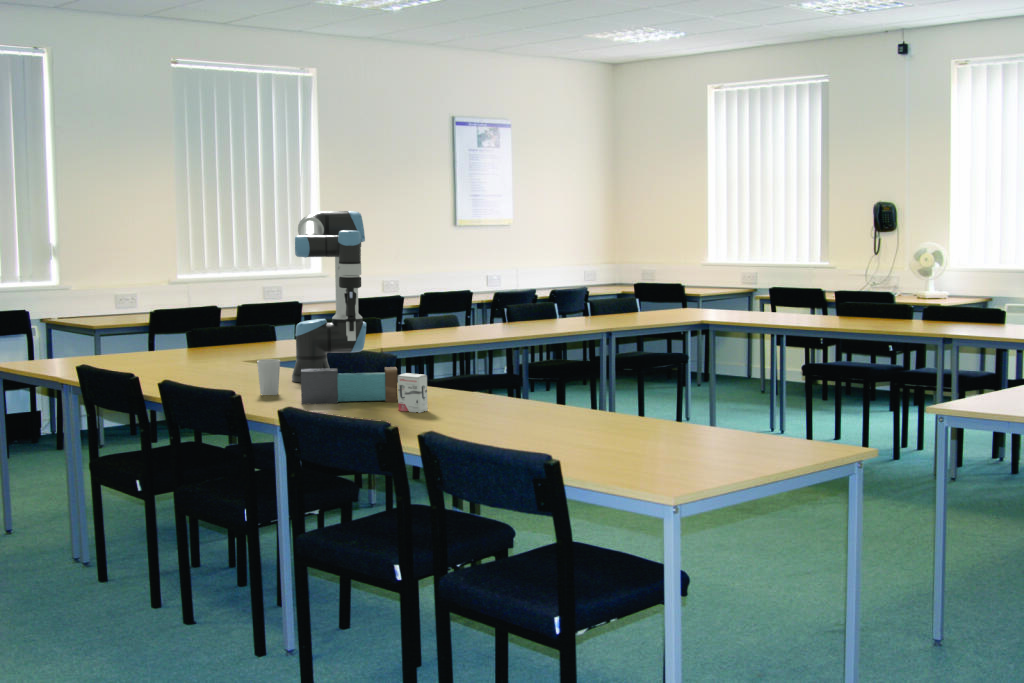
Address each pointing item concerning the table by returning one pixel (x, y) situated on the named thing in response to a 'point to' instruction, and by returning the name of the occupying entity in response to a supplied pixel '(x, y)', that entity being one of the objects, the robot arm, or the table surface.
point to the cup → (269, 376)
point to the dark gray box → (319, 386)
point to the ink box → (412, 392)
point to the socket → (391, 384)
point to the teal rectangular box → (361, 386)
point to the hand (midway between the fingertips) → (351, 338)
